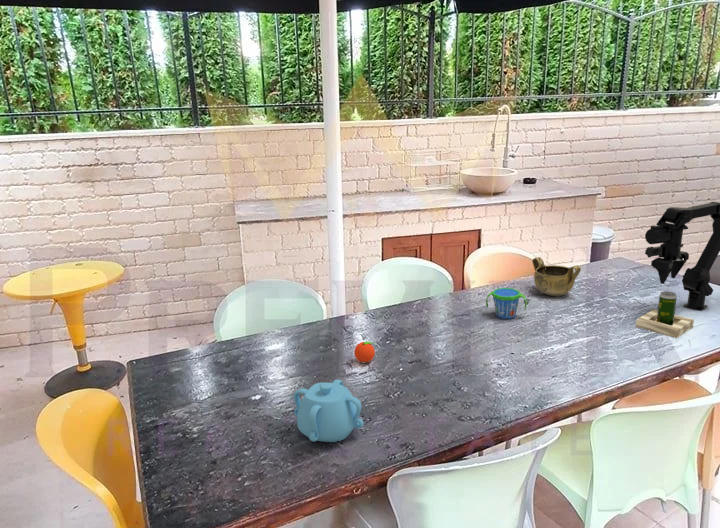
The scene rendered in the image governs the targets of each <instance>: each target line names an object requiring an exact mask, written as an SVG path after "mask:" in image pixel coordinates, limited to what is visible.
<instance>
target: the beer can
mask: <svg viewBox="0 0 720 528" xmlns="http://www.w3.org/2000/svg"><path fill="white" fill-rule="evenodd" d="M676 305H677V293H675V292H674V291H673V292H672V291H661V292H660V294H659V298H658V305H657V306H658V307H657V310H658V313H657V322H660V323H664V324H667V325H671V326H672V325H673V323H674V315H676V314H675V312H676Z"/></svg>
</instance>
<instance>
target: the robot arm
mask: <svg viewBox="0 0 720 528" xmlns="http://www.w3.org/2000/svg"><path fill="white" fill-rule="evenodd" d="M707 216H710V218H711V219H712V220H713V221H712V234H711V235H710V238H709V239H708V242H707V244H706V245H705V246H704V249H703V250H702V252H701V254H700V257H699V259H698V260H697V262H696V264H695V265H694V266H693V267H691V268H690V267H687V268H686V270H685V272H684V274H683V275H682V276H681V277H682V279H681V283H682V286H683V287H682V288H683V290H684V291H688V295H687V301H686V302H687V303H685V304H683V308H688V309H692V310H696V311H701V312H702V311H703V310H705V309H706V308H708V305H707V304H705V302H706V298H707V297H709V296H711V295H712V294H713V292H714V289H713V288H712V286H711V285H710V281H711V276H710V275H711V274H710V271H711V269H712V267H713V265H714V264H715V262H716V259H717V257H718V255H719V253H720V202H718V201H717V202H716V201H711V202H708V203H703V204H699V205H694V206H690V207H689V206H688V207H680V206H679V207H677V206H676V207H675V206H674V207H673V206H671V207H668V208H666V210H665V212H663V214H662V215H661V216H660V219H659V220H658V221H657V223H656V224H655V225H650V228H649V229H647V231H646V233H645V234H644V239H645V241H646V243H647V244H649V245H658V244H660V246H654V247H653V246H647V247H646V249H645V252H644V255H646V256H647V258H652V257H656V258H654V259H652V260H651V263H650V266H651V267H652V268H653V269H655V270H656V271H657V273H658V276H659V277H658V278H659V282H660V284H662V285H664V284H665V283H666V281H667V279H668V278H669V275H670V278H671V279H675V278H676V277H677V275H679V272H680V271H681V270H682V268H683V267H684V265H685V264H686V263H687V261H688V260H689V258H690V254H689V252H687V251H684V250H683V251H682V250H681V248H683V247H684V244H683V243H682V240H683V232H684V230H688V229H689V227H688V225H686V224H687V223H690V222H691V221H692V220H694V219H698V218H704V217H707Z"/></svg>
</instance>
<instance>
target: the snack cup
mask: <svg viewBox="0 0 720 528" xmlns="http://www.w3.org/2000/svg"><path fill="white" fill-rule="evenodd" d="M490 296H492V299H493V302H494V303H493V304H494V308H495V316H496V317H498V318H500V319H503V320H507V319H509V320H511V319H513V318H515V317H516V316H517V311H518V307H519V306H518V305H519V299H520V298H522V299H524V311H526V309H527V305H528V301H527V297H526V296H525V294H524V293H523V294H522V293H521V292H520V290H518V289H515V288H509V287H502V288H496V289H494V290H493V291H491V292H489V293H488V294H487V296H486V299H485V306H486V308H489V303H488V302H489V301H488V298H490Z"/></svg>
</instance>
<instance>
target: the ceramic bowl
mask: <svg viewBox="0 0 720 528" xmlns="http://www.w3.org/2000/svg"><path fill="white" fill-rule="evenodd" d="M532 265H533V268H534V275H533V282H534V285H535V287H536V288H537V290H538V291H540V292H541V293H542V294H544V295H547V296H551V297H560V296H564V295H566V294H568V293H569V292H570V291H571V290H572V289H573V287H574V285H575V282H576V281H575V280H577V277H578V276H579V274H580V272H581V269H582V268H581V266H580V265H573V266H571V267H568V266H565V265H556V264H555V265H553V264H552V265H551V264H550V265H546V264H545V263H544V260H543V258H542V257H540V256H537V257H534V258H532Z"/></svg>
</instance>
